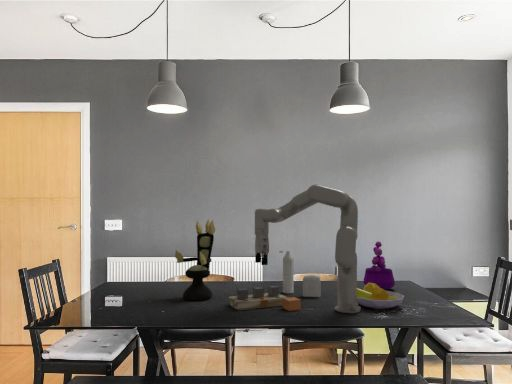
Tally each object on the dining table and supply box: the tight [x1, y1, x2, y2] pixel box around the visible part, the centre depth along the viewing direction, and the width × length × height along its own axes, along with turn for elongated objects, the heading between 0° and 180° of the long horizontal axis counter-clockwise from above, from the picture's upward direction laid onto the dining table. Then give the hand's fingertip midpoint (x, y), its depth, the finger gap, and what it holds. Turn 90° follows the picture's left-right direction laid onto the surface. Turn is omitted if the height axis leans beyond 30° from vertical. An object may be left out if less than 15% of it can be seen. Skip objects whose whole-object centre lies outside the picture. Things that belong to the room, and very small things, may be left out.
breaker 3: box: [267, 285, 280, 297], centre depth 217 cm, size 4×4×6 cm
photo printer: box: [302, 274, 322, 298], centre depth 233 cm, size 10×4×12 cm, turn 84°
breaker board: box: [228, 292, 289, 311], centre depth 213 cm, size 15×28×5 cm, turn 113°
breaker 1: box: [236, 288, 249, 300], centre depth 210 cm, size 4×4×6 cm
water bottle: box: [279, 250, 295, 294], centre depth 244 cm, size 9×6×25 cm
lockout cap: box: [282, 296, 302, 312], centre depth 205 cm, size 7×7×5 cm
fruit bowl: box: [357, 282, 405, 310], centre depth 211 cm, size 28×27×11 cm
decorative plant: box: [363, 241, 396, 291], centre depth 252 cm, size 19×18×30 cm
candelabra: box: [174, 218, 216, 302], centre depth 232 cm, size 19×22×45 cm
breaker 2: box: [252, 286, 265, 299], centre depth 214 cm, size 4×4×6 cm
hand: (261, 263), depth 216 cm, fingers open, 9 cm apart
